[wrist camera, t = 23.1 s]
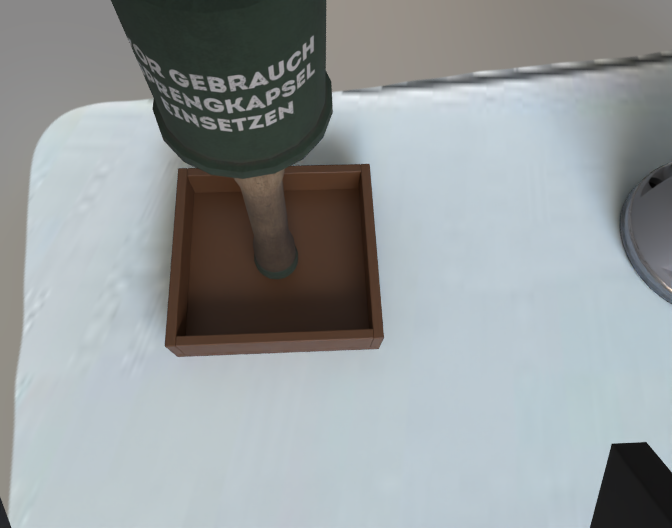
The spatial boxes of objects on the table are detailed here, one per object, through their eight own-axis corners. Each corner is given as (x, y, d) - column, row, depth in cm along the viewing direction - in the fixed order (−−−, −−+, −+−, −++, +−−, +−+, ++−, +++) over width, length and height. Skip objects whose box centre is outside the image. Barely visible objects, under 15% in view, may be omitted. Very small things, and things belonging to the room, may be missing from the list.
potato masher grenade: (212, 293, 44) (24, -18, 16) (249, 207, 47) (146, -180, 19) (308, 323, 43) (287, 53, 15) (339, 233, 46) (369, -128, 18)
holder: (365, 185, 49) (369, 163, 45) (378, 348, 43) (384, 338, 40) (188, 190, 48) (178, 168, 45) (177, 356, 42) (164, 346, 39)
